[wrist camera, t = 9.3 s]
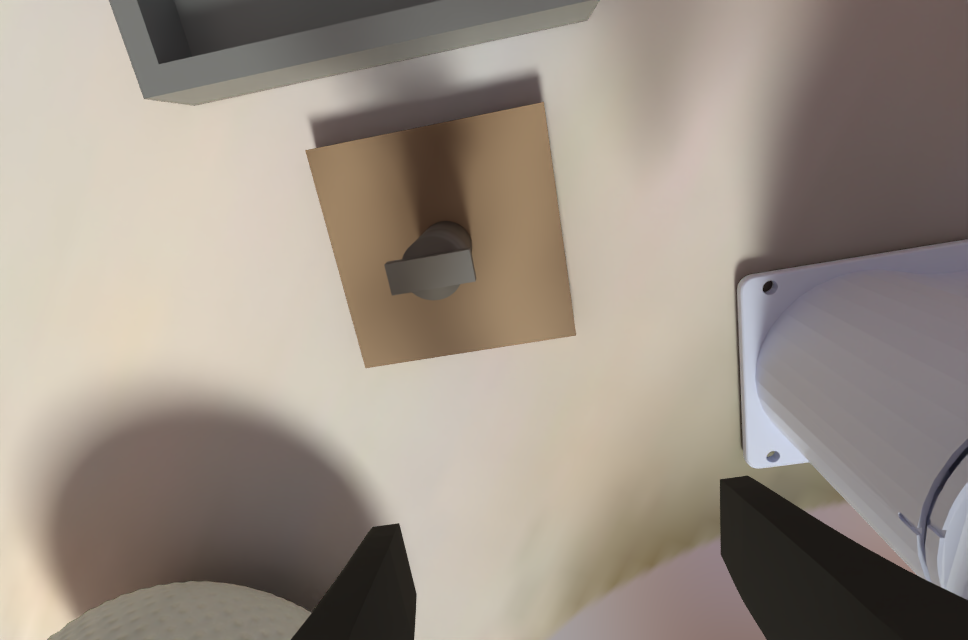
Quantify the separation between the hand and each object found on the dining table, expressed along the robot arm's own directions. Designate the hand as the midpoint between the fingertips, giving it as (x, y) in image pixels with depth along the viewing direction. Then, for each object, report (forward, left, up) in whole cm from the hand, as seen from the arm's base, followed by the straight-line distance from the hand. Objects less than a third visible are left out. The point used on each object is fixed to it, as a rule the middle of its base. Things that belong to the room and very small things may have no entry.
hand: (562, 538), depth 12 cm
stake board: (+2, -5, -9) cm, 11 cm away
